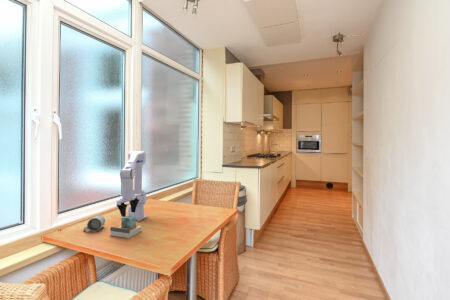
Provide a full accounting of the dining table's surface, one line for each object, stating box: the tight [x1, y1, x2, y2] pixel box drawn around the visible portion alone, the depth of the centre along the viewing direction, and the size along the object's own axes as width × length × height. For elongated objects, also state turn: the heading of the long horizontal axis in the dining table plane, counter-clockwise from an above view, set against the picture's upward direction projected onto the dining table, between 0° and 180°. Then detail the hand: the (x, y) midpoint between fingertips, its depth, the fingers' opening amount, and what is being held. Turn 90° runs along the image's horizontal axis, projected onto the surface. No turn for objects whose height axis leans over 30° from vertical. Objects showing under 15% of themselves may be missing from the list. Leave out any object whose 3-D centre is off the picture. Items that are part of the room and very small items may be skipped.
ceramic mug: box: [83, 214, 106, 233], centre depth 133 cm, size 11×8×8 cm
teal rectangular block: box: [120, 215, 137, 230], centre depth 128 cm, size 7×4×6 cm, turn 71°
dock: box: [109, 225, 142, 239], centre depth 127 cm, size 12×10×4 cm
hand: (128, 214), depth 129 cm, fingers open, 7 cm apart
